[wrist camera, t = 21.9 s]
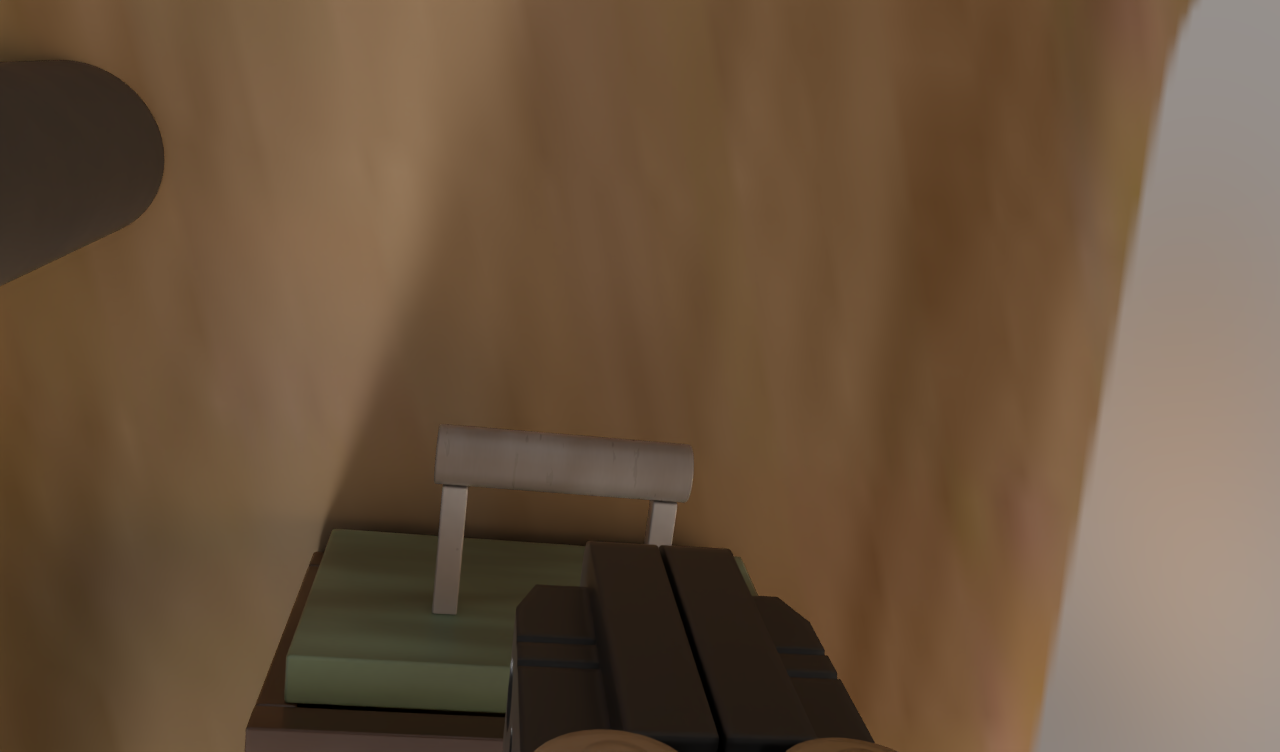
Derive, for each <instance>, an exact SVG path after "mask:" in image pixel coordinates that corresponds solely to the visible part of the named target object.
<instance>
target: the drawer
mask: <svg viewBox="0 0 1280 752" xmlns="http://www.w3.org/2000/svg"><path fill="white" fill-rule="evenodd" d="M693 475H694V455H693V450H692V447H691V445H688V444H676V443H664V442H652V441H640V440H628V439H617V438H605V437H593V436H581V435H569V434H557V433H545V432H533V431H521V430H509V429H497V428H485V427H473V426H461V425H449V424H440V426H439V430H438V438H437V448H436V458H435V471H434V482H435V483H436V484H443V487H442V497H441V509H440V521H439V533H438V536H433V535H418V534H404V533H390V532H375V531H361V530H347V529H333V530H332V532H331V535H330V538H329V541H328V543H327V546H326V549H325V552H324V554H323V557H322V560H321V563H320V565H319V568H318V571H317V574H316V576H315V579H314V582H313V585H312V587H311V590H310V593H309V596H308V598H307V601H306V604H305V607H304V609H303V612H302V615H301V618H300V620H299V623H298V626H297V629H296V631H295V634H294V637H293V640H292V642H291V645H290V648H289V651H288V653H287V656H286V668H285V689H284V700H285V702H287V703H301V704H322V705H332V709H341V710H362V711H383V712H404V713H425V714H446V715H467V716H488V717H505V715H506V705H507V695H508V685H509V674H510V664H511V654H512V644H513V634H514V623H515V613H516V607H517V606H518V605H519V603H520V602H521V601H522V600H523V599H524V598H525V596H526V595H527V594H528V593H529V592H530V591H531V589H532V588H533V587H534V586H535V585H536V584H539V585H558V586H577V587H580V579H581V571H582V562H583V556H584V551H585V546H576V545H562V544H547V543H533V542H519V541H504V540H490V539H476V538H464V530H465V519H466V508H467V497H468V486H473V487H486V488H499V489H512V490H526V491H539V492H552V493H565V494H578V495H591V496H604V497H618V498H631V499H644V500H650V503H649V510H648V518H647V525H646V532H645V539H644V544H651V545H657V546H658V548H659V546H660V545H671V546H672V540H673V533H674V526H675V519H676V512H677V503H676V502H683V503H684V502H687V501H688V499H689V496H690V493H691V489H692V484H693ZM734 558H735V561H736V563H737V565H738V567H739V569H740V571H741V573H742V576H743V578H744V580H745V582H746V584H747V586H748V589H749V591H750V593H751V595H752V596H758V594H757V592H756V590H755V588H754V586H753V583H752V581H751V579H750V577H749V575H748V572H747V570H746V568H745V566H744V564H743V561H742V559H741V558H740V557H734Z"/></svg>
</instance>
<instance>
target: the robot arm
mask: <svg viewBox="0 0 1280 752" xmlns="http://www.w3.org/2000/svg"><path fill="white" fill-rule="evenodd" d="M824 651H825V650H824V648H823V646H822V644H821V643H820V641H819V639H818V637H817V635H816V633H815V631H814V630H813V628H812V626H811V624H810V622H809V621H807V620H806V619H805V618H803V617H802V616H801V615H800V614H798V613H797V612H796V611H794V610H793V609H792V608H791V607H789V606H788V605H787V604H785V603H784V602H783V601H782V600H780V599H779V598H778V597H767V596H752V595H751V593H750V591H749V589H748V586H747V584H746V582H745V580H744V578H743V576H742V573H741V571H740V569H739V567H738V565H737V563H736V561H735V558H734V556H733V554H732V552H731V551H730V550H729V549H721V548H705V547H688V546H671V545H660V546H659V548H658V546H657V545H651V544H634V543H618V542H601V541H587V543H586V546H585V551H584V556H583V562H582V571H581V579H580V587H577V586H558V585H539V584H536V585H535V586H534V587H533V588H532V589H531V591H530V592H529V593H528V594H527V595H526V596H525V598H524V599H523V600H522V601H521V602H520V603H519V605H518V606H517V607H516V613H515V623H514V634H513V644H512V654H511V664H510V674H509V685H508V695H507V705H506V715H505V725H504V736H503V752H897V751H895V750H893V749H890V748H888V747H885V746H882V745H879V744H876V743H875V742H874V740H873V739H872V737H871V735H870V733H869V731H868V729H867V728H866V726H865V724H864V722H863V720H862V718H861V716H860V715H859V713H858V711H857V709H856V707H855V705H854V704H853V702H852V700H851V698H850V696H849V694H848V692H847V691H846V689H845V687H844V685H843V683H842V681H841V680H840V679H837V672H836V670H835V668H834V667H833V665H832V663H831V661H830V659H829V657H828V656H825V655H824Z"/></svg>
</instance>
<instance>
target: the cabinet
mask: <svg viewBox="0 0 1280 752" xmlns="http://www.w3.org/2000/svg"><path fill="white" fill-rule="evenodd" d="M323 554H324V553H322V552H315V553H314V554H313V556H312V559H311V561H310V564H309V567H308V569H307V572H306V574H305V577H304V580H303V582H302V585H301V588H300V590H299V593H298V595H297V598H296V601H295V603H294V606H293V608H292V611H291V614H290V616H289V619H288V621H287V624H286V627H285V629H284V632H283V634H282V637H281V640H280V642H279V645H278V647H277V650H276V653H275V655H274V658H273V660H272V663H271V666H270V668H269V671H268V673H267V676H266V679H265V681H264V684H263V686H262V689H261V692H260V694H259V697H258V699H257V702H256V705H255V707H254V709H253V712H252V714H251V717H250V719H249V722H248V725H247V727H246V740H245V752H503V736H504V725H505V717H488V716H467V715H446V714H425V713H404V712H383V711H362V710H341V709H332V705H322V704H301V703H287V702H285V700H284V689H285V668H286V656H287V653H288V651H289V648H290V645H291V642H292V640H293V637H294V634H295V631H296V629H297V626H298V623H299V620H300V618H301V615H302V612H303V609H304V607H305V604H306V601H307V598H308V596H309V593H310V590H311V587H312V585H313V582H314V579H315V576H316V574H317V571H318V568H319V565H320V563H321V560H322V557H323Z"/></svg>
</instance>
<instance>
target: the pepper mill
mask: <svg viewBox="0 0 1280 752" xmlns="http://www.w3.org/2000/svg"><path fill="white" fill-rule="evenodd" d="M163 169H164V149H163V144H162V138H161V135H160V132H159V129H158V126H157V124H156V122H155V120H154V118H153V116H152V114H151V112H150V111H149V109H148V107H147V106H146V105H145V103H144V102H143V101H142V100H141V98H140V97H139V96H138V95H137V94H136V93H135V92H134V91H133V90H132V89H131V88H130V87H129V86H128V85H126V84H125V83H124V82H123V81H121V80H120V79H119V78H117V77H115V76H114V75H112V74H110V73H109V72H107V71H104V70H102V69H100V68H98V67H95V66H92V65H89V64H86V63H81V62H75V61H64V60H53V61H23V62H0V286H2V285H4V284H6V283H8V282H10V281H12V280H14V279H16V278H19V277H21V276H23V275H25V274H27V273H29V272H31V271H33V270H35V269H38V268H40V267H42V266H44V265H46V264H48V263H50V262H52V261H54V260H57V259H59V258H61V257H63V256H65V255H67V254H69V253H71V252H73V251H76V250H78V249H80V248H82V247H84V246H86V245H88V244H90V243H92V242H95V241H97V240H99V239H101V238H103V237H105V236H107V235H109V234H111V233H114V232H116V231H118V230H120V229H122V228H124V227H126V226H127V225H129V224H130V223H132V222H133V221H135V220H136V219H137V218H138V217H139V216H140V215H142V214H143V213H144V212H145V210H146V209H147V208H148V207H149V205H150V204H151V203H152V201H153V199H154V197H155V196H156V194H157V192H158V189H159V186H160V184H161V180H162V176H163Z"/></svg>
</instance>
